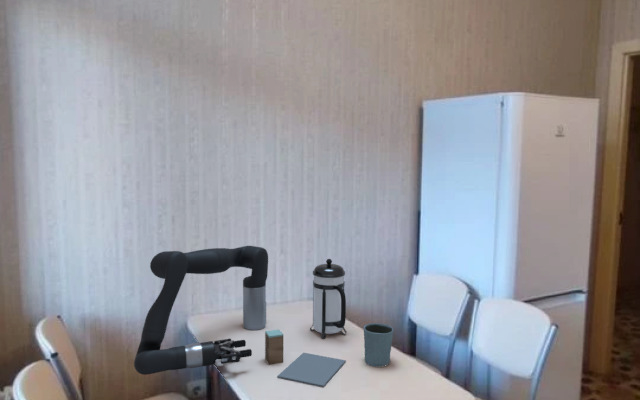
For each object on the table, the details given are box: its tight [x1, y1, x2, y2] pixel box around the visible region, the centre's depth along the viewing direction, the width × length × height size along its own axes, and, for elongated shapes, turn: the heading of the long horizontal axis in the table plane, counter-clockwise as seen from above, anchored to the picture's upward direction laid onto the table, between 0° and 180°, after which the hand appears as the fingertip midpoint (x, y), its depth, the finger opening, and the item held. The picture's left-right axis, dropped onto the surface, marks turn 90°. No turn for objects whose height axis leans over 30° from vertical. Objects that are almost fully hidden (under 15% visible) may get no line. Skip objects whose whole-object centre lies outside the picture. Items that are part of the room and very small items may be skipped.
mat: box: [276, 352, 346, 388], centre depth 165 cm, size 20×16×1 cm
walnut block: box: [264, 329, 284, 365], centre depth 171 cm, size 5×5×10 cm
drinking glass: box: [363, 322, 394, 368], centre depth 171 cm, size 10×10×12 cm
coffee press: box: [309, 258, 347, 340], centre depth 195 cm, size 17×16×30 cm
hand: (248, 347), depth 167 cm, fingers open, 8 cm apart
